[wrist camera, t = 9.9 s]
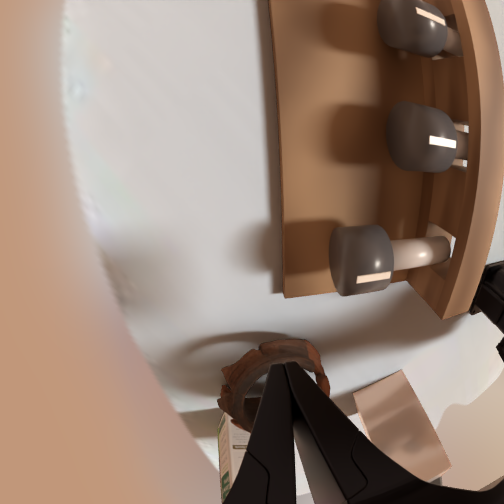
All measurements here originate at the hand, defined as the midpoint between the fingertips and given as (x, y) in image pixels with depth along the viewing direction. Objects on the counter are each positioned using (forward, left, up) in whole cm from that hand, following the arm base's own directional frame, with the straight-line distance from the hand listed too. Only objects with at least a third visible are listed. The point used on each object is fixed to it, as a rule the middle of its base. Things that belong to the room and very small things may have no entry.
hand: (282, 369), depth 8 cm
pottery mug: (-1, +13, -10) cm, 17 cm away
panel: (-8, -7, -10) cm, 15 cm away
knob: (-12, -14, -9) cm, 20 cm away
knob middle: (-12, -7, -9) cm, 16 cm away
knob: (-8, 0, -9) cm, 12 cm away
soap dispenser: (-15, +23, -10) cm, 29 cm away
